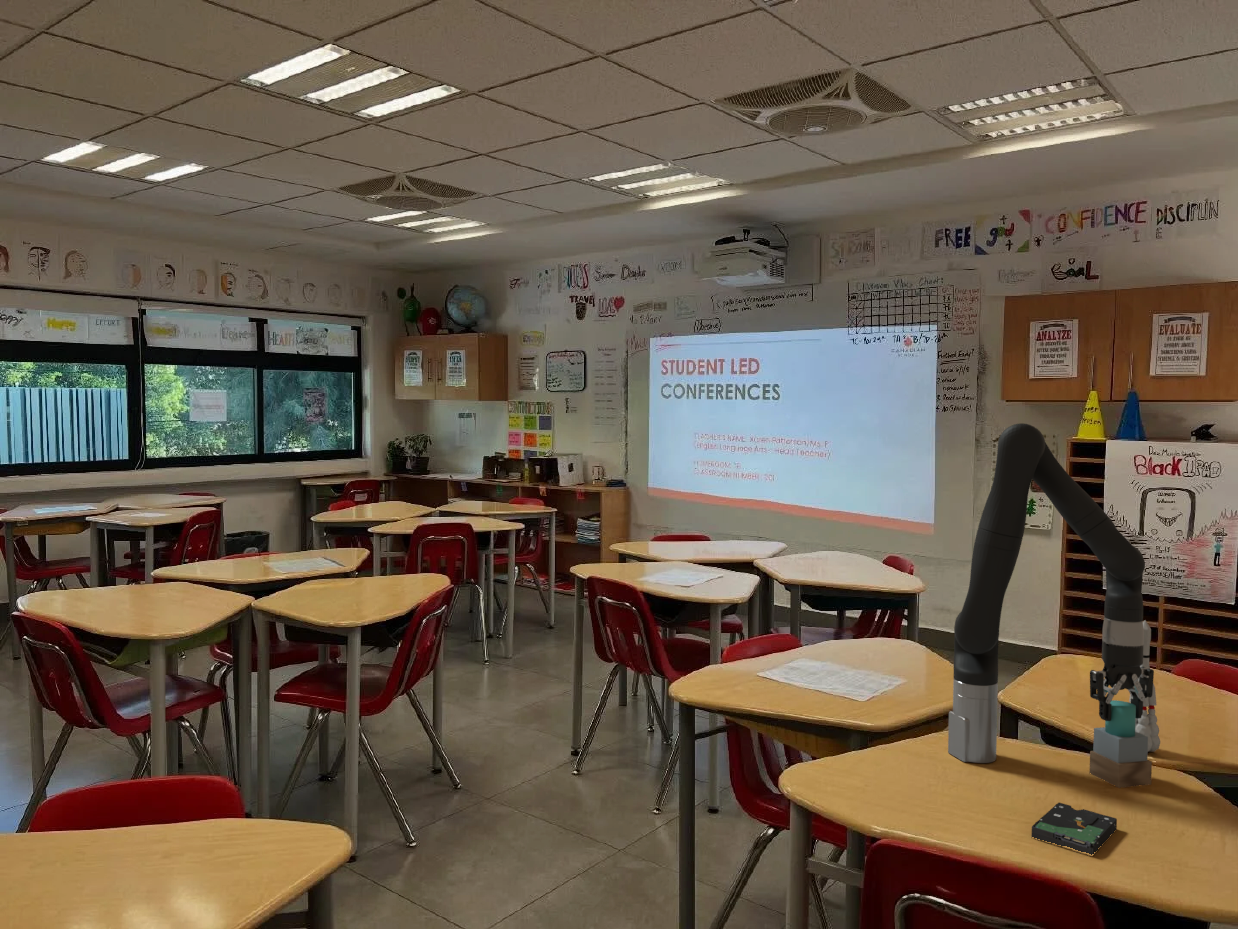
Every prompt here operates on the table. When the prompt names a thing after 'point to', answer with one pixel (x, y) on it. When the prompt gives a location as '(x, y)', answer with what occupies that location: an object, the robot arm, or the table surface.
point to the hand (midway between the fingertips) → (1120, 718)
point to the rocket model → (1148, 702)
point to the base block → (1120, 771)
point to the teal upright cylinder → (1121, 719)
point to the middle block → (1120, 746)
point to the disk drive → (1074, 828)
